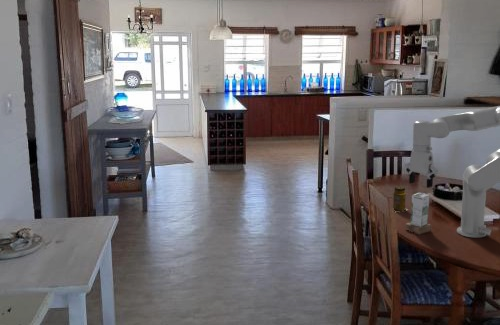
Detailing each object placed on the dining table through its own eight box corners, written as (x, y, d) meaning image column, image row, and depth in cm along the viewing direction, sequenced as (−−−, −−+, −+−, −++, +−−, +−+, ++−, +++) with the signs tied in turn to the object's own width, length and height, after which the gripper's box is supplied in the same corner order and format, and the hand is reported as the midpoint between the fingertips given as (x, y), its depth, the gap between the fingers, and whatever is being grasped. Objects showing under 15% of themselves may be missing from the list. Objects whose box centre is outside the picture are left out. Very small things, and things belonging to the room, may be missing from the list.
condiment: (408, 209, 267) (409, 187, 264) (397, 213, 262) (398, 190, 260) (397, 206, 273) (398, 184, 270) (386, 209, 268) (387, 187, 265)
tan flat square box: (430, 230, 237) (430, 224, 236) (419, 234, 232) (419, 228, 232) (416, 226, 243) (416, 220, 242) (405, 229, 239) (405, 223, 238)
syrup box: (416, 221, 241) (417, 191, 237) (428, 224, 236) (429, 194, 233) (410, 224, 237) (411, 194, 234) (421, 227, 233) (423, 197, 229)
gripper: (443, 149, 224) (442, 187, 227) (411, 144, 238) (410, 179, 242) (432, 152, 220) (431, 190, 224) (400, 146, 234) (400, 182, 238)
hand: (420, 184), depth 233 cm, fingers open, 9 cm apart
